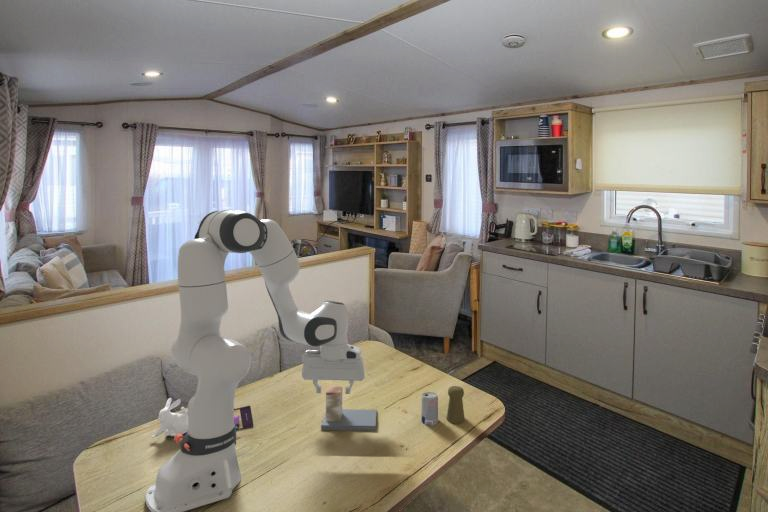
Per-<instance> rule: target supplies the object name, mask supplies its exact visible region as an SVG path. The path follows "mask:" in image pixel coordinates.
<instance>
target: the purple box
mask: <svg viewBox="0 0 768 512" xmlns="http://www.w3.org/2000/svg"><path fill="white" fill-rule="evenodd" d="M238 410H239V414H240V415H236V414H234V424H235V425H236V431H240V430H245V429H249V428H254V421H253V414H252V408H251V405H246V406H242V407H237V408H234V412H235V411H238ZM240 420H241V421H240ZM240 422H241V425H242V426H241V428H240V426H239V423H240Z"/></svg>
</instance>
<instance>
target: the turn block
mask: <svg viewBox="0 0 768 512" xmlns="http://www.w3.org/2000/svg"><path fill="white" fill-rule="evenodd" d="M342 409H343V386H328V388H327V389H326V393H325V413H326V421H340V420H341V417H342Z"/></svg>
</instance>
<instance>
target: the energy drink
mask: <svg viewBox="0 0 768 512" xmlns="http://www.w3.org/2000/svg"><path fill="white" fill-rule="evenodd" d="M438 396H439V395H438V394H437V393H435V392H429V391H427V392H424V393H422V394H421V423H422V424H423V425H426V426H428V427H429V426H436V425H437V424H438V423H439V397H438Z"/></svg>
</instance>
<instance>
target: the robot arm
mask: <svg viewBox="0 0 768 512" xmlns="http://www.w3.org/2000/svg"><path fill="white" fill-rule="evenodd" d="M229 253H233V254H246V253H250V255H251V256H252V258H253V259H254V262H255V263H256V265H257V268H258V270H259V272H260V274H261V276H262V278H263V280H264V284H265V288H266V291H267V293H268V296H269V298H270V300H271V302H272V305H273V308H274V310H275V313H276V314H277V315H276V316H277V320H278V329H279V332H280V334H281V336H282V338H284V339H285V340H287V341H289V342H295V343H300V344H303V345H306V346H309V347H319V350H310V349H308V350H305V351H304V352H302V354H301V362H302V370H301V377H302V379H303V380H305V381H307V380H309V381H310V380H311V381H312V384H313V386H314V387H315V393H316V394H322V389H323V387H322V385H321V386H320V385H319V383H318V382H319V381H345V382H346V381H349V382H348V383H349V386H346V387H345V395H350V394H351V389H352V387H353V385H354V383H355V381H357V382H361V381H364V379H365V377H366V370H365V369H366V368H365V361H364V358H363V357H362V349H361V348H360V347H358V346H355V345H352V344H349V343H348V341H349V340H348V330H349V317H348V315H349V314H348V309H347V308H348V307H347V305H346V304H345V303H343V302H339V301H335V300H324V301H322V304H321V305H320V306H319V307H318V308H316V310H313V311H312V312H306V311H303V310H302V309H300V308H299V307H298V306H297V305H296V302H295V300H294V297H293V295H292V293H291V290H290V286H289V284H290V283H292V282H293V281H295V280H296V278H297V277H298V275H299V273H300V268H301V266H300V261H299V258H298V256H297V253H296V251H295V249H294V247H293V245H292V243H291V241H290V239H289V238H288V236H287V235H286V233H285V231H284V230H283V229H282V228H281V226H280V225H279V223H278V222H277V221H275V220H273V219H270V218H269V219H268V218H267V219H266V218H265V219H260V218H258V217H256V216H255V215H253V214H252V213H250V212H247V211H244V210H234V209H222V210H216V211H211V212H210V213H207V214H206V215H205V216H204V217H203V218H202V219H201V221H200V223H199V225H198V229H197V232H196V233H195V235H194V237H193V238H192V239H190V240H187V241H185V242H184V243H183V244H181V246H180V247H179V250H178V255H177V285H178V293H179V294H178V295H179V304H180V326H179V330H178V331H179V332H178V336H177V337H176V338H175V340H174V342H172V346H171V350H170V356H171V359H172V361H173V362H174V363H175V364H176V365H177V366H178V367H179V368H180V369H181V370H182V371H184V372H186V373H189V374H191V375H194V376H196V378H197V388H196V391H195V394H194V395H193V396H192V397H191V398H190V399H189V401H188V405H187V410H188V432H186V433H185V435H184V434H180V433H179V434H176V435H175V436H173V437H174V438H173V440H174V441H175V442H176V444H179V445H180V449H178V451H176V453H175V454H174V455H172V457H170V458H169V459H168V460H167V461H166V462H165V463H163V465H162V466H160V468H159V469H158V471H157V474H156V475H157V476H156V478H155V479H156V480H155V484H153V485H150V487H148V488H147V490H146V492H145V504H146V506H147V508H148V509H149V510H150V511H149V512H186V511H189V510H193V509H196V508H199V507H202V506H206V505H208V504H209V505H210V504H213V503H216V502H219V501H221V500H226V499H228V498H230V497H231V495H232V493H233V490H234V489H235V488H236V487H237V485H239V483H240V482H241V480H242V473H241V469H240V465H239V461H238V456H237V451H236V445H237V430H236V425H235V424H234V415H235V411H234V409H235V397H236V396H235V395H236V393H237V389H238V385H239V383H240V381H241V380H243V378H245V377H246V376H247V374H248V372H249V370H250V367H251V364H252V357H251V352H250V351H249V349H248V348H247V347H246V346H245V345H243V344H242V343H240V342H238V341H237V340H236V339H233V338H229V337H225V336H222V335H221V331H220V330H221V329H220V328H221V322H222V319H223V317H224V316H225V315H226V314H227V313H228V310H229V301H228V290H227V281H226V272H225V262H226V259H227V257H228V255H229Z"/></svg>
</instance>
